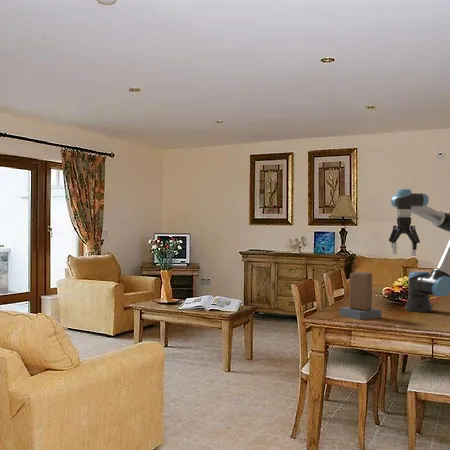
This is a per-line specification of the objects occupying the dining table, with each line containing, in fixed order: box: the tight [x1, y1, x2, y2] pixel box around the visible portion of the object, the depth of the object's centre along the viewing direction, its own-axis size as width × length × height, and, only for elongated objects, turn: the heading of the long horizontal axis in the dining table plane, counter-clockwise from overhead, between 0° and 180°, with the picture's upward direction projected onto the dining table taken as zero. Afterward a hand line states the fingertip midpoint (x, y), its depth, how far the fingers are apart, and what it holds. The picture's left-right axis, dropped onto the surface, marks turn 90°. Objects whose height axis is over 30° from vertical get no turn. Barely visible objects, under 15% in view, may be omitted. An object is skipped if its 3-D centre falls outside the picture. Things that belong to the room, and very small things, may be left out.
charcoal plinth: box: [338, 306, 383, 321], centre depth 290 cm, size 16×16×4 cm
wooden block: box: [348, 271, 373, 311], centre depth 290 cm, size 10×10×20 cm
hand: (403, 255), depth 292 cm, fingers open, 13 cm apart
